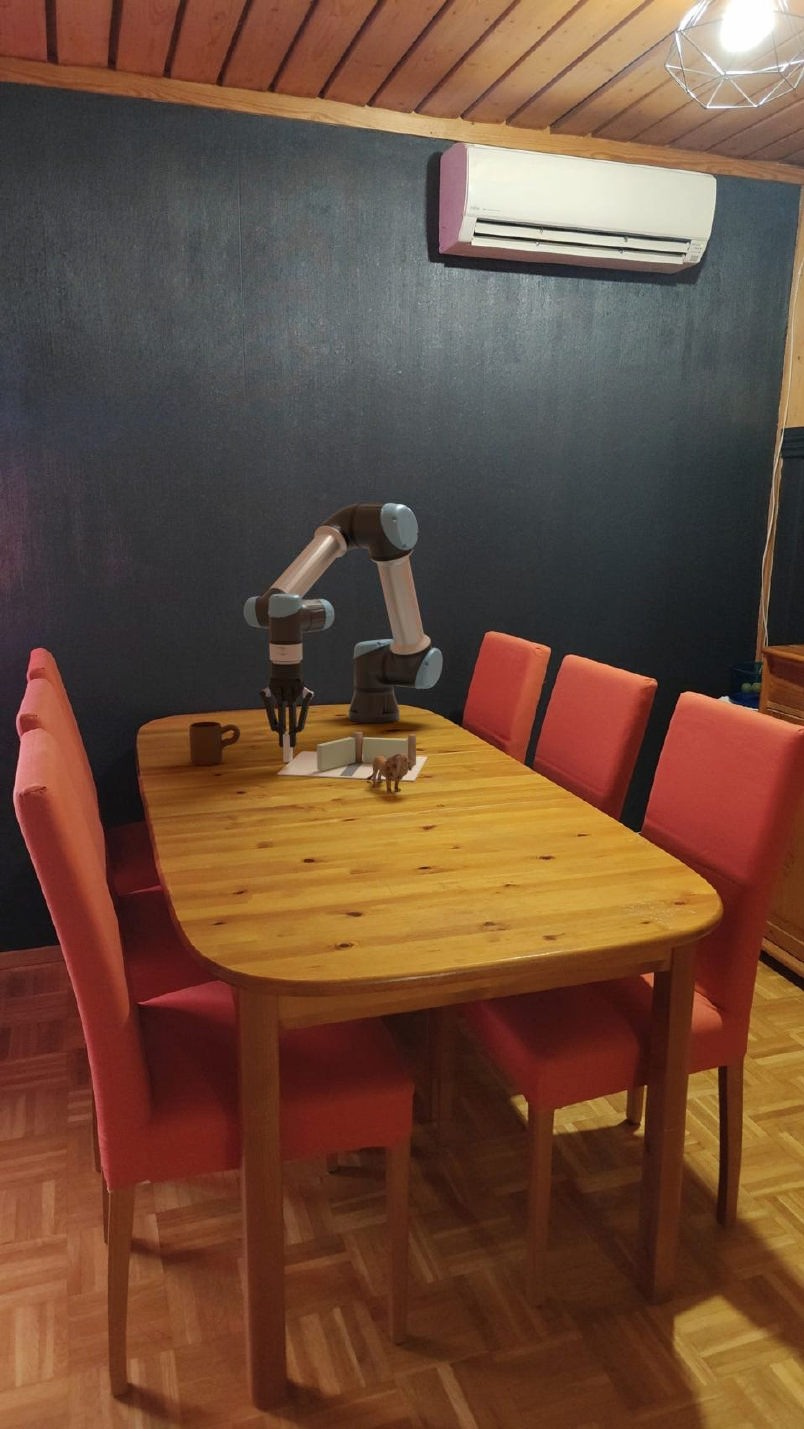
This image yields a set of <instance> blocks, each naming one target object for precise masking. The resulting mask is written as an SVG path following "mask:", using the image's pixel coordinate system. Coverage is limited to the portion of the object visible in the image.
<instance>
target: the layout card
mask: <svg viewBox="0 0 804 1429" xmlns="http://www.w3.org/2000/svg"><path fill="white" fill-rule="evenodd" d="M428 758H429V756H417V755H416V765H414V766H413V767H412V770H411V771H409V770H408V773H407V774H406V775H405V776H403V778H402V779H401V780H399V782H409V783H410V782H412V783H414V782H415V781H416V780H417V778H418V776H419V774H420V772H421V770H422V768H423V767H424V765H425V764H426V761H427V760H428ZM362 759H363V753H362ZM287 763H288V764H286V765H285V766H283V768H281V770H280V771H278V772H277V773H276V776H287V777H289V776H291V777H308V778H309V777H310V778H311V777H312V778H313V777H314V778H327V779H328V778H330V779H332V778H333V779H350V780H352V779H353V780H368V779H367V778H368V777H369V776H371V775H372V774H373V763H363V762H361V763H351V764H347V765H343V766H340V767H336V768H332V769H328V770H324V771H320V770H317V751H307V750H304V751H301V752H299V753H298V754H297V755H296V756H295V757H293V760H291V761H290V762H287ZM378 773H379V770H378ZM378 773H377V775H376V781H378V780H377V778H378ZM381 779H382V780H383V781H386V777H384V776H381ZM369 780H371V781H373V777H372V779H369ZM391 782H394V781H393V780H391Z"/></svg>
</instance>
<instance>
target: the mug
mask: <svg viewBox="0 0 804 1429" xmlns="http://www.w3.org/2000/svg"><path fill="white" fill-rule="evenodd" d="M230 731H231V732H233V735H232V736H231V737H229V738H224V739H223V734H226V733H228V732H230ZM188 734H189V754H190V756H189V757H190V762H191V764H192V765H195V766H198V765H199V767H200V766H201V767H202V766H203V767H206V766H207V767H208V766H209V767H211V766H216V765H219V764H220V763H222V761H223V749H224V748H226V747H228V746H231V745H234V744H236V743H237V742H238V741H239V739H240V736H241V730H240V728H239V727H238V726H237V725H234V724H231V723H230V724H227V725H225V726H222V724H221V723H220V722H218V721H198V722H192V723H191V724H190V725H189V731H188Z"/></svg>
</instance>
